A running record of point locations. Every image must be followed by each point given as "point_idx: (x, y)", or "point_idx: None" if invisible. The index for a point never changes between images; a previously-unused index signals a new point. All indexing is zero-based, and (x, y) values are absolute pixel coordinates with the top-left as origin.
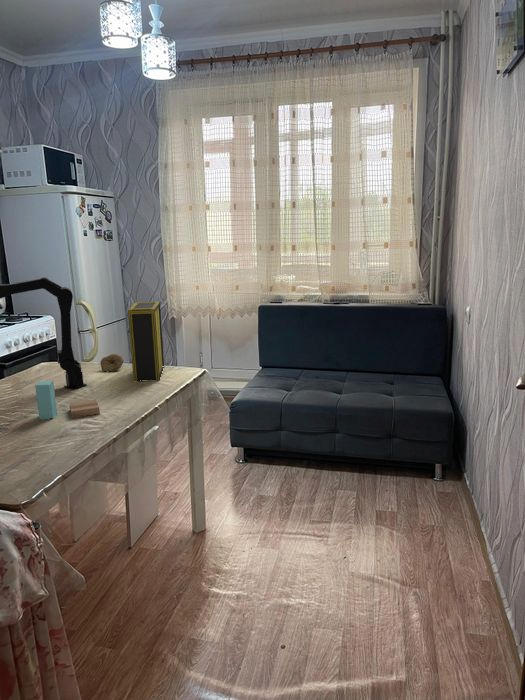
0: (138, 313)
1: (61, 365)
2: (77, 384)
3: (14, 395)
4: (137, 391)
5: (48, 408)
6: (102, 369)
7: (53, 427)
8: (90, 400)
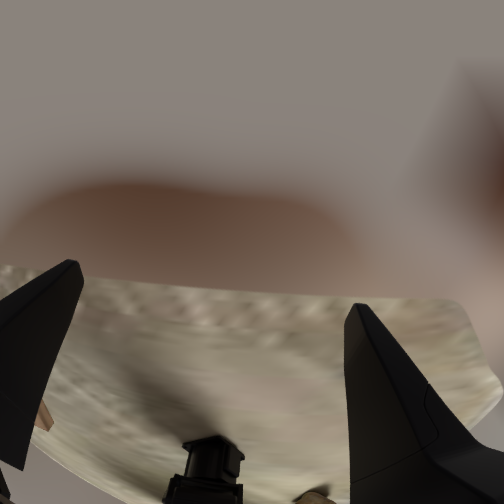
0: None
1: (173, 493)
2: (188, 458)
3: (206, 318)
4: (126, 482)
5: None
6: (315, 494)
7: None
8: (43, 424)
